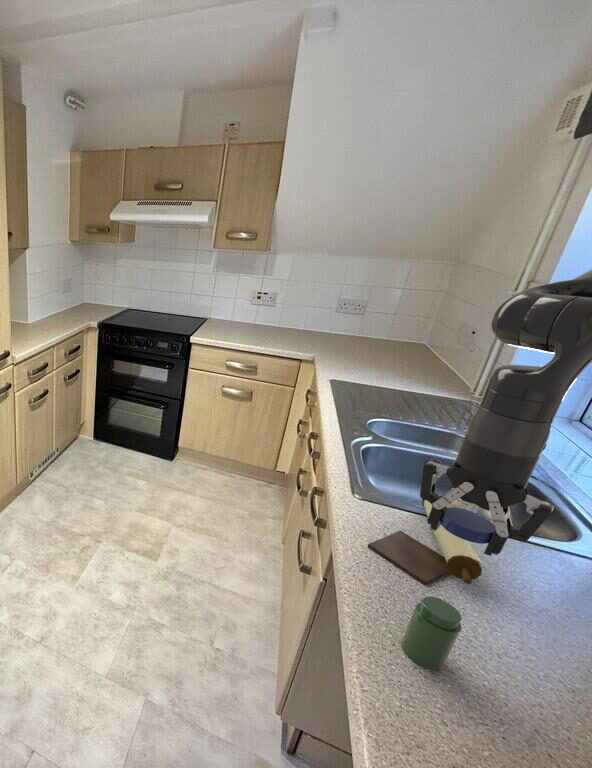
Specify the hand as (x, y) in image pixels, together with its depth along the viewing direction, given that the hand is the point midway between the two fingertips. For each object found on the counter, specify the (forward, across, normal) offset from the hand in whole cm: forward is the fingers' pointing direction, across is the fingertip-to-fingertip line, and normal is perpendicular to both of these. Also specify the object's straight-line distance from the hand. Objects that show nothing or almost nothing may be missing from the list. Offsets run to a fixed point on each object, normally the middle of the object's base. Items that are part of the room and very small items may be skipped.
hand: (461, 539), depth 62 cm
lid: (-3, 0, 0) cm, 3 cm away
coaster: (+19, -8, +19) cm, 28 cm away
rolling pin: (+19, -5, +30) cm, 36 cm away
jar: (+19, +1, -5) cm, 20 cm away
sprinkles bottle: (+20, -6, +43) cm, 48 cm away
